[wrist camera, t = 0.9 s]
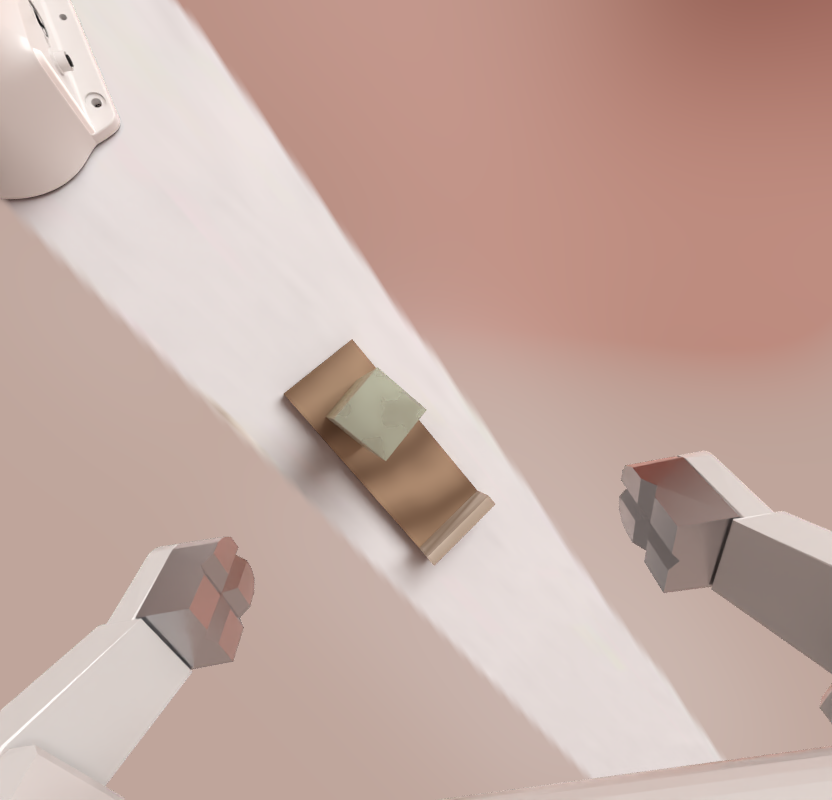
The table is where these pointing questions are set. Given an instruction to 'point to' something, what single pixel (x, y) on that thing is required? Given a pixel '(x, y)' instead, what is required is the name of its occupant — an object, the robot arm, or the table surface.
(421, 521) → the shelf board
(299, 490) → the table surface
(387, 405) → the tea tin
